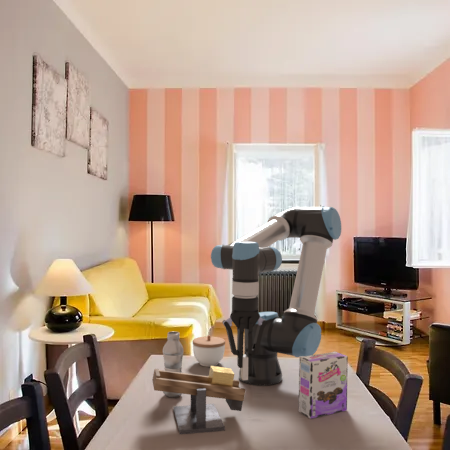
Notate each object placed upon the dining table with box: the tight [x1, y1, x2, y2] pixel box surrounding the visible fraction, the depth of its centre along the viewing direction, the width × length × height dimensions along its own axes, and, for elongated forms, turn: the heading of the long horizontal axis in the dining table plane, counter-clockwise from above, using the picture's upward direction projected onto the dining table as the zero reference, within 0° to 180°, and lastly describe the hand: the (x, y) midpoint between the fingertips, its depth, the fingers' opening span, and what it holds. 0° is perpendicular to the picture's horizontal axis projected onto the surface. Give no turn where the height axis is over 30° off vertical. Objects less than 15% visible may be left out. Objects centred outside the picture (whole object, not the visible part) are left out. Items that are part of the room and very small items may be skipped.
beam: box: [151, 368, 247, 412], centre depth 133 cm, size 25×9×7 cm, turn 102°
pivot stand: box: [172, 388, 226, 435], centre depth 133 cm, size 12×16×10 cm
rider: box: [207, 365, 235, 387], centre depth 134 cm, size 6×5×5 cm
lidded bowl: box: [192, 334, 226, 367], centre depth 184 cm, size 13×13×11 cm
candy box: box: [298, 351, 349, 420], centre depth 140 cm, size 14×6×16 cm, turn 117°
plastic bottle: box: [162, 331, 184, 398], centre depth 150 cm, size 6×7×20 cm
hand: (244, 378), depth 136 cm, fingers closed
